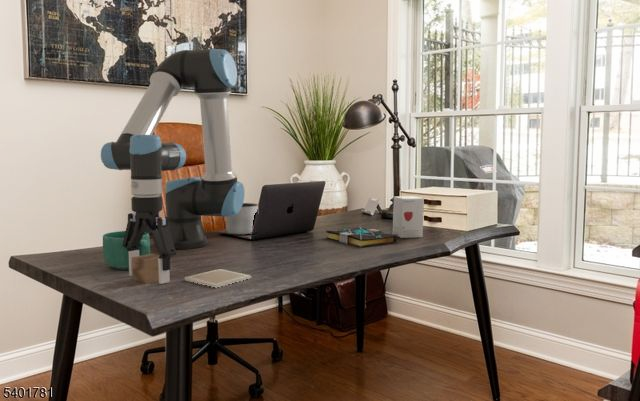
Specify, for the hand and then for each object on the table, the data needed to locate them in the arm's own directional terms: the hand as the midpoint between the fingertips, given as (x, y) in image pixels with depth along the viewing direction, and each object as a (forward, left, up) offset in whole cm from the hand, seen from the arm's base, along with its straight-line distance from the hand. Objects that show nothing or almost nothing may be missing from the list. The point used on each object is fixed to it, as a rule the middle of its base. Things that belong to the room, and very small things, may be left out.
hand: (149, 278), depth 138 cm
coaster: (+14, +11, 0) cm, 18 cm away
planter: (-33, +65, 0) cm, 73 cm away
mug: (-15, +4, 0) cm, 16 cm away
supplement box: (+21, +101, 0) cm, 103 cm away
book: (+12, +81, -1) cm, 82 cm away
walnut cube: (0, 0, 0) cm, 0 cm away
